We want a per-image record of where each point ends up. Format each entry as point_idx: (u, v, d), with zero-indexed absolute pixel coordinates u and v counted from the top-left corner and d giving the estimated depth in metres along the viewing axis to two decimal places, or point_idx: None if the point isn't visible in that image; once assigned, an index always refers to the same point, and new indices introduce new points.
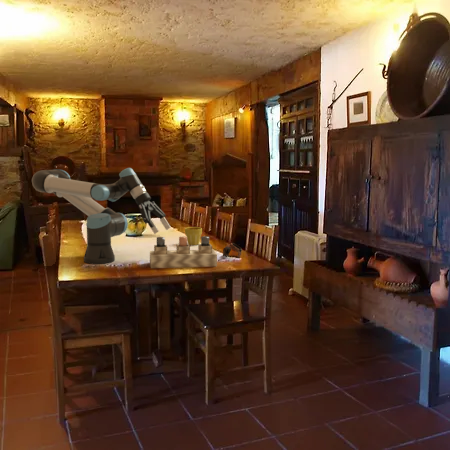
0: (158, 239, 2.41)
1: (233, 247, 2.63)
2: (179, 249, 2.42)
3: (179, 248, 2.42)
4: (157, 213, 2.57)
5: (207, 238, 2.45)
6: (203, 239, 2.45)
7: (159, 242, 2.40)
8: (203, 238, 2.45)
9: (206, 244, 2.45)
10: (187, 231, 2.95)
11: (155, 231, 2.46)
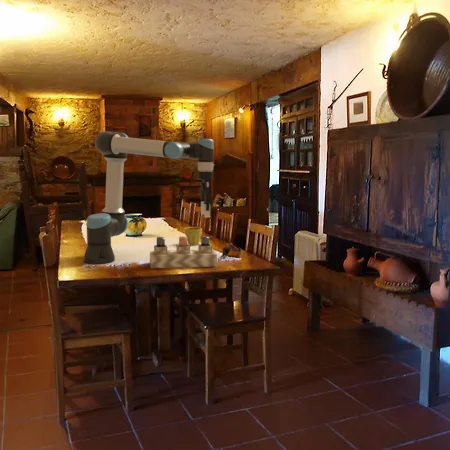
0: (158, 239, 2.41)
1: (233, 247, 2.64)
2: (179, 249, 2.42)
3: (179, 248, 2.42)
4: (204, 194, 2.48)
5: (207, 238, 2.45)
6: (203, 239, 2.45)
7: (159, 242, 2.40)
8: (203, 238, 2.45)
9: (206, 244, 2.45)
10: (187, 231, 2.95)
11: (207, 215, 2.39)
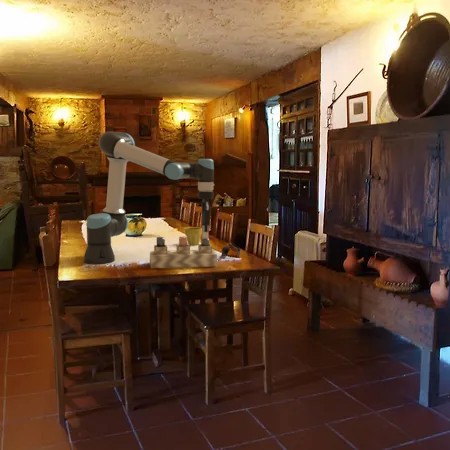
0: (158, 239, 2.41)
1: (232, 247, 2.64)
2: (179, 249, 2.42)
3: (179, 248, 2.42)
4: None
5: (207, 240, 2.45)
6: (203, 241, 2.45)
7: (159, 242, 2.40)
8: (203, 240, 2.45)
9: None
10: (187, 231, 2.95)
11: (205, 236, 2.46)
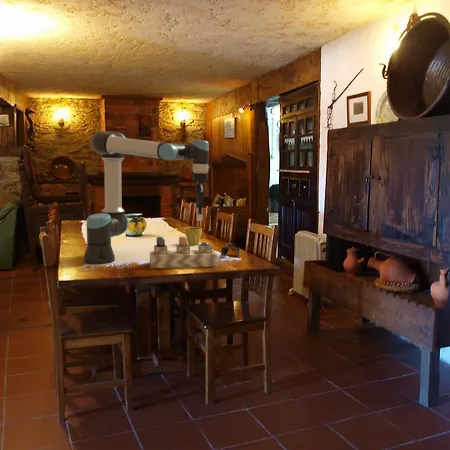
0: (158, 239, 2.41)
1: (231, 246, 2.65)
2: (179, 249, 2.42)
3: (179, 248, 2.42)
4: None
5: (207, 244, 2.45)
6: (203, 245, 2.45)
7: (159, 242, 2.40)
8: (203, 244, 2.45)
9: None
10: (187, 231, 2.95)
11: (199, 219, 2.44)
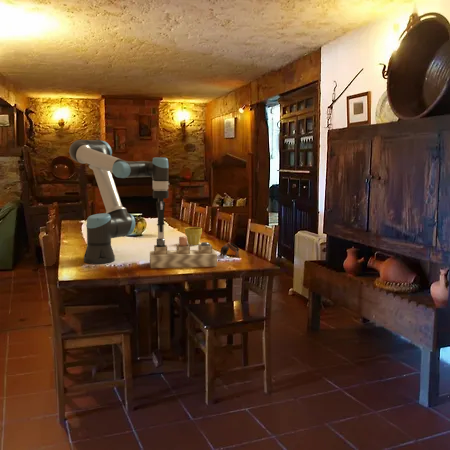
0: (158, 240, 2.41)
1: (231, 246, 2.65)
2: (179, 249, 2.42)
3: (179, 248, 2.42)
4: None
5: (207, 244, 2.45)
6: (203, 245, 2.45)
7: (159, 243, 2.41)
8: (203, 244, 2.45)
9: None
10: (187, 231, 2.95)
11: (160, 237, 2.41)
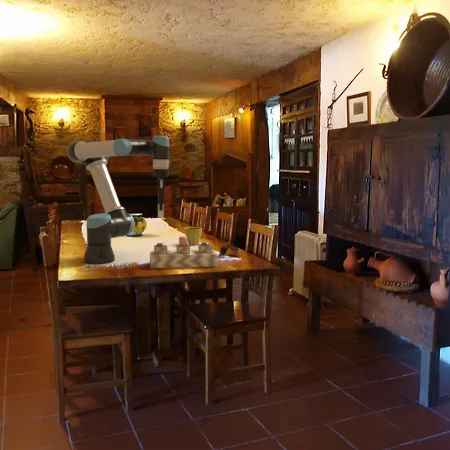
0: (158, 245, 2.41)
1: (230, 246, 2.66)
2: (179, 249, 2.42)
3: (179, 248, 2.42)
4: None
5: (207, 244, 2.45)
6: (203, 245, 2.45)
7: None
8: (203, 244, 2.45)
9: None
10: (187, 231, 2.95)
11: (160, 215, 2.42)
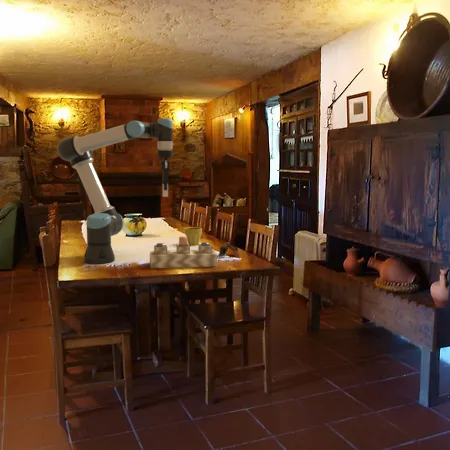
0: (158, 245, 2.41)
1: (230, 246, 2.66)
2: (179, 249, 2.42)
3: (179, 248, 2.42)
4: None
5: (207, 244, 2.45)
6: (203, 245, 2.45)
7: None
8: (203, 244, 2.45)
9: None
10: (187, 231, 2.95)
11: (165, 195, 2.54)
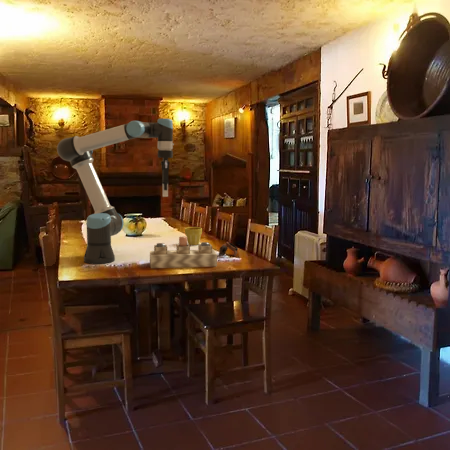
0: (158, 245, 2.41)
1: (229, 246, 2.66)
2: (179, 249, 2.42)
3: (179, 248, 2.42)
4: None
5: (207, 244, 2.45)
6: (203, 245, 2.45)
7: None
8: (203, 244, 2.45)
9: None
10: (187, 231, 2.95)
11: (165, 195, 2.54)
